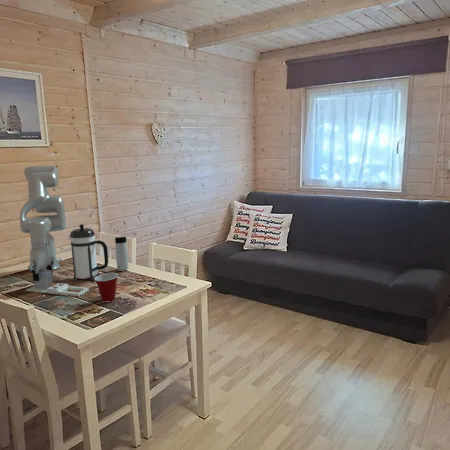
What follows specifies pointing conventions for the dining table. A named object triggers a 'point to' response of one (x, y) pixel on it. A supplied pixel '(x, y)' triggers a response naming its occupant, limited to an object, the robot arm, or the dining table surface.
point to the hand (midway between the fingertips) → (43, 277)
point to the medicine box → (44, 279)
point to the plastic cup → (107, 285)
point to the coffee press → (85, 253)
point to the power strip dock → (65, 289)
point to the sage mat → (38, 289)
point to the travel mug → (121, 253)
